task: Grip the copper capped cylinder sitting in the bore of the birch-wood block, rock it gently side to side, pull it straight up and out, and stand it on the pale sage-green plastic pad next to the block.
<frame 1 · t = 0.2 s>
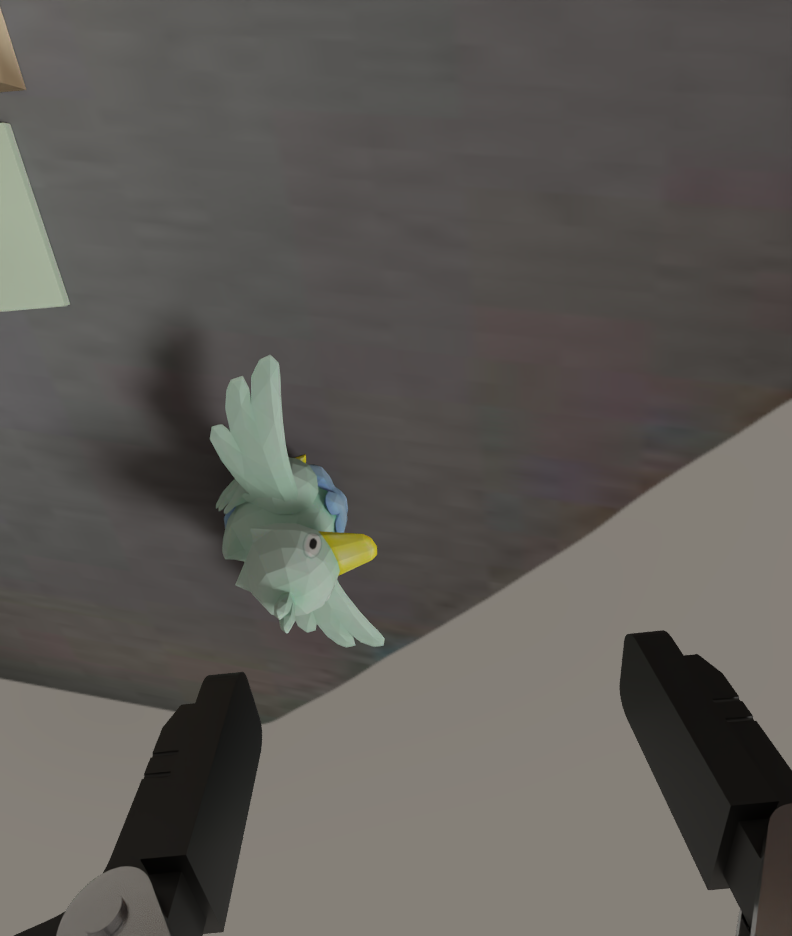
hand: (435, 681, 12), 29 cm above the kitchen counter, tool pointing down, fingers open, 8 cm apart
toy: (305, 488, 43), on the kitchen counter
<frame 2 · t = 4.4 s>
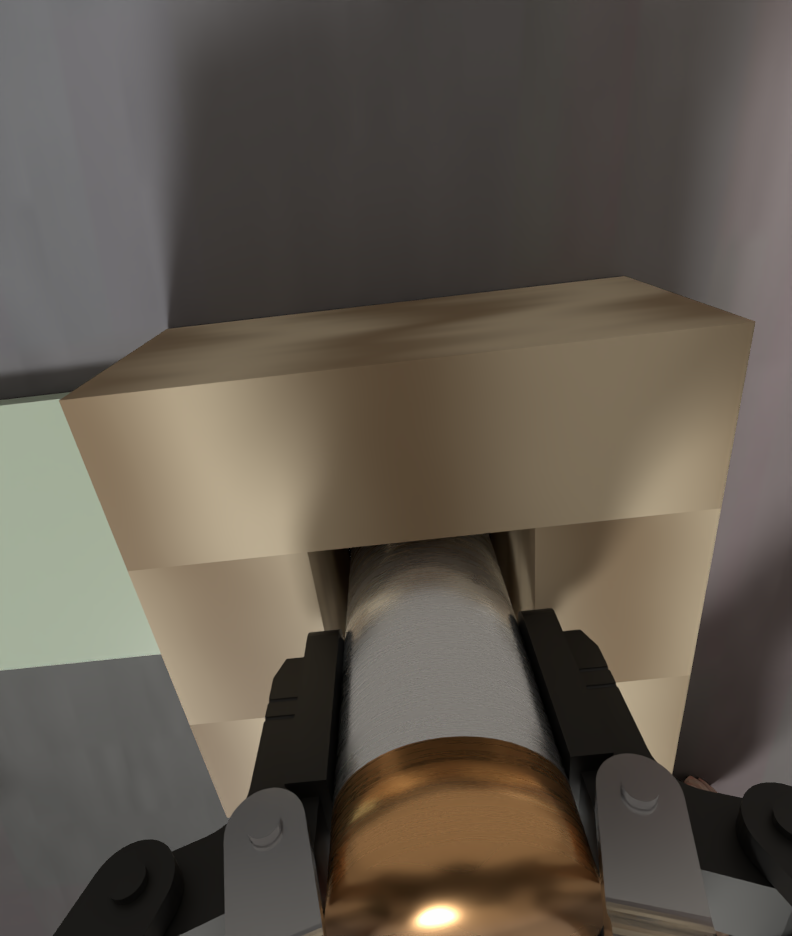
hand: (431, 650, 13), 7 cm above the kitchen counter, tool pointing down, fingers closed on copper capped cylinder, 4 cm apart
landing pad: (34, 541, 19), on the kitchen counter
copper capped cylinder: (429, 626, 13), in the bore block, touching gripper
bore block: (414, 500, 19), on the kitchen counter
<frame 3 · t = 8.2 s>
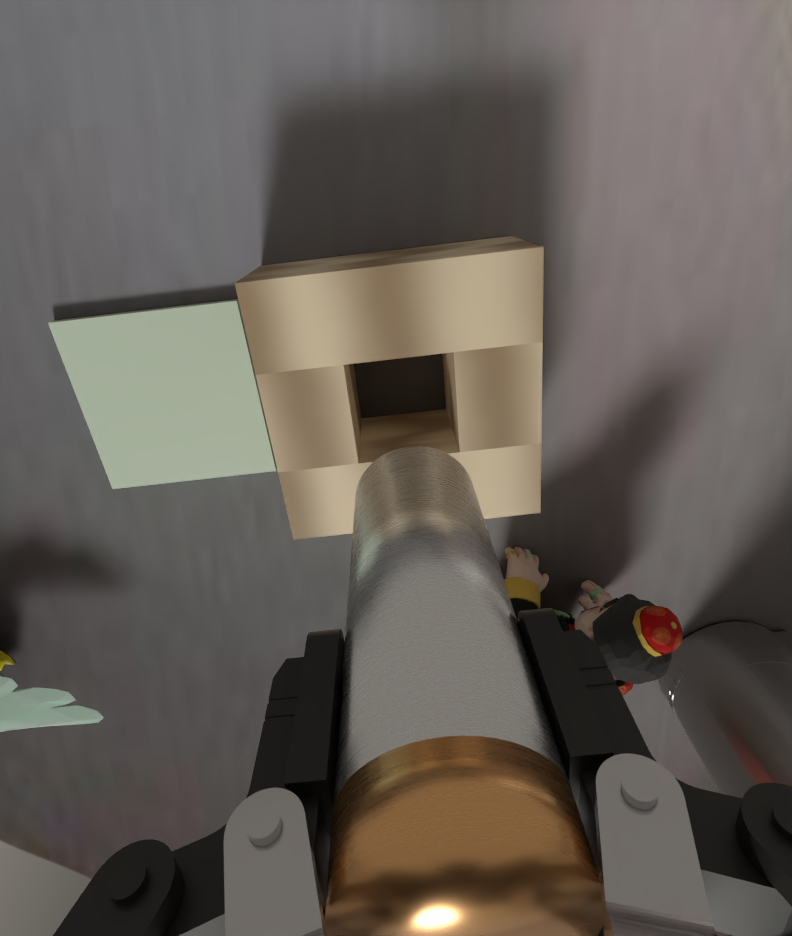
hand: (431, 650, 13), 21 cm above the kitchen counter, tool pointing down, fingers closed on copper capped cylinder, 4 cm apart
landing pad: (173, 398, 32), on the kitchen counter
copper capped cylinder: (430, 626, 13), point 20 cm above the kitchen counter, touching gripper
bore block: (399, 372, 31), on the kitchen counter
figurine 2: (543, 593, 39), on the kitchen counter
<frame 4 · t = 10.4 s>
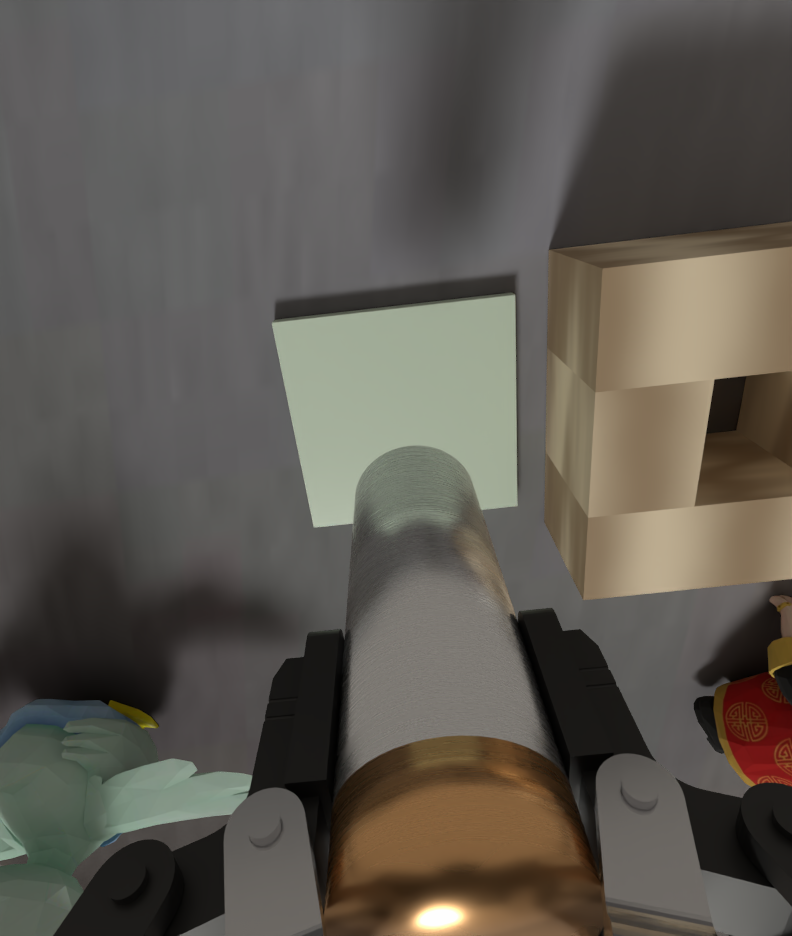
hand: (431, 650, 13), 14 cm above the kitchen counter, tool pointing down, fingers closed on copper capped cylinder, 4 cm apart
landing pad: (404, 417, 25), on the kitchen counter
toy: (110, 723, 34), on the kitchen counter
copper capped cylinder: (429, 626, 13), point 14 cm above the kitchen counter, touching gripper
bore block: (689, 385, 25), on the kitchen counter
when the fingers open (8 cm above the kitchen counter, at t = 12.3 s): copper capped cylinder stays where it is, resting on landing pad.
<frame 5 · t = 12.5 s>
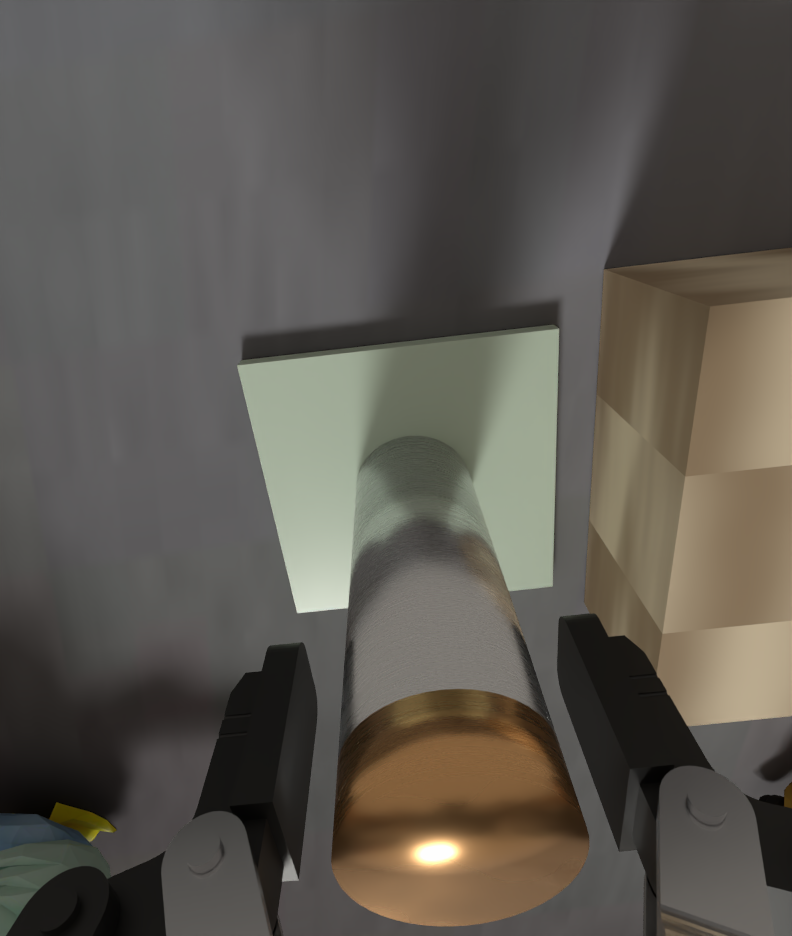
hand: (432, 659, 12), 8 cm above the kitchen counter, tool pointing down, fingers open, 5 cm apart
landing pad: (411, 480, 20), on the kitchen counter
toy: (58, 825, 29), on the kitchen counter
copper capped cylinder: (428, 602, 14), on the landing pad, point 7 cm above the kitchen counter
bore block: (776, 440, 20), on the kitchen counter
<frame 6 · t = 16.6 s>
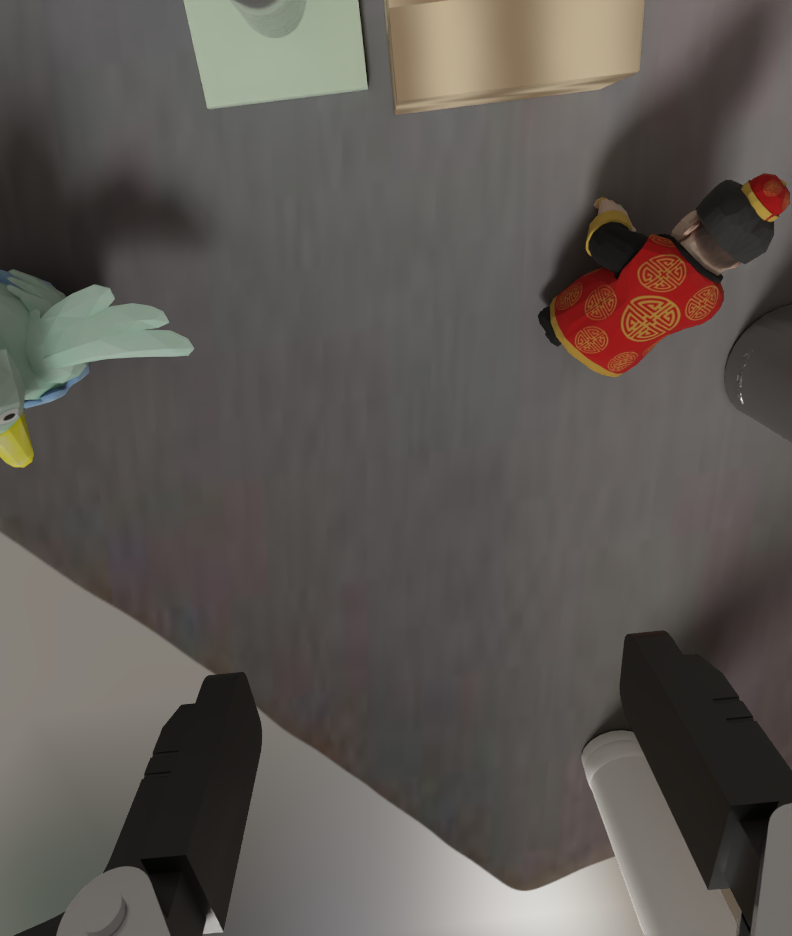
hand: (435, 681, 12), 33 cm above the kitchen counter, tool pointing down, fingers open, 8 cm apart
bottle: (613, 750, 64), on the kitchen counter
toy: (56, 340, 41), on the kitchen counter
figurine 2: (621, 271, 40), on the kitchen counter
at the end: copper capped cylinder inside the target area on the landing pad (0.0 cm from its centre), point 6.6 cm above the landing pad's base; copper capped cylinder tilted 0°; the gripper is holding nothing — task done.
